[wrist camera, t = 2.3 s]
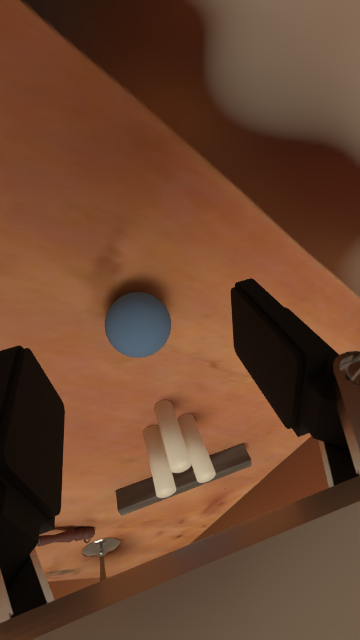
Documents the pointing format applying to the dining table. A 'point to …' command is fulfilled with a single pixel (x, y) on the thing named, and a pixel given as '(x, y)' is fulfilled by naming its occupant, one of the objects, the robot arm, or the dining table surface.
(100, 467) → the dining table surface
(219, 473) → the back wall
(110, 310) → the ball
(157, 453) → the pin
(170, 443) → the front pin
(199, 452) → the pin
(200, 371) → the dining table surface
